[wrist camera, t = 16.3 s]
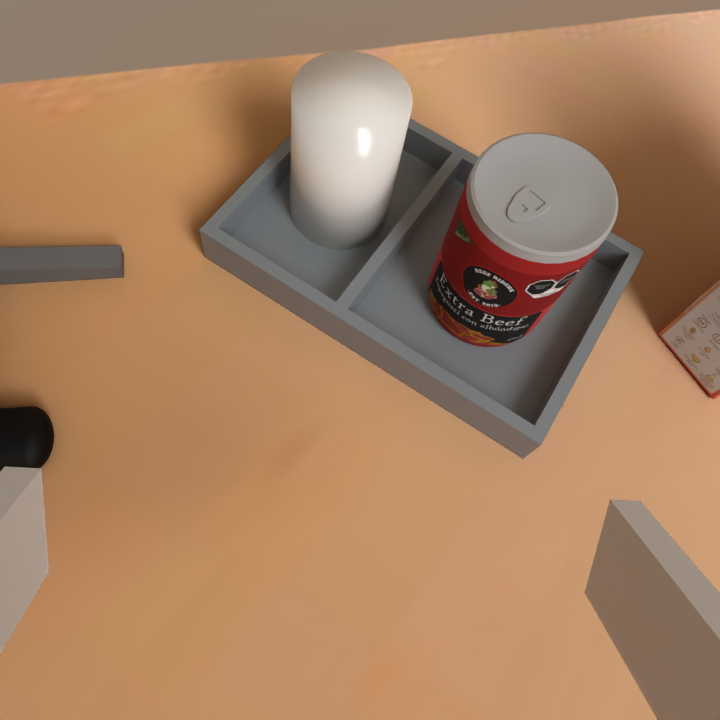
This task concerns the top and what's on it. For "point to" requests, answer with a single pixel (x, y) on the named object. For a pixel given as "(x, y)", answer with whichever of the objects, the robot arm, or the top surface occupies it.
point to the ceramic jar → (345, 146)
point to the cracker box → (699, 339)
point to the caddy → (418, 292)
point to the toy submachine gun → (33, 265)
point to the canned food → (519, 236)
